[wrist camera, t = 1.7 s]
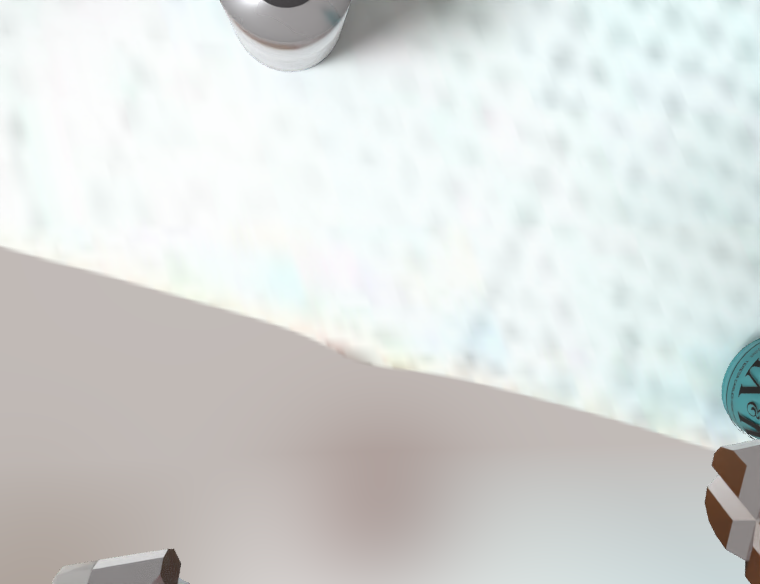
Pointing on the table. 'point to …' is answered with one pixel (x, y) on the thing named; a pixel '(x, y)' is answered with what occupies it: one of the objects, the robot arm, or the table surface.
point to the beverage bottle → (744, 389)
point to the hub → (287, 30)
